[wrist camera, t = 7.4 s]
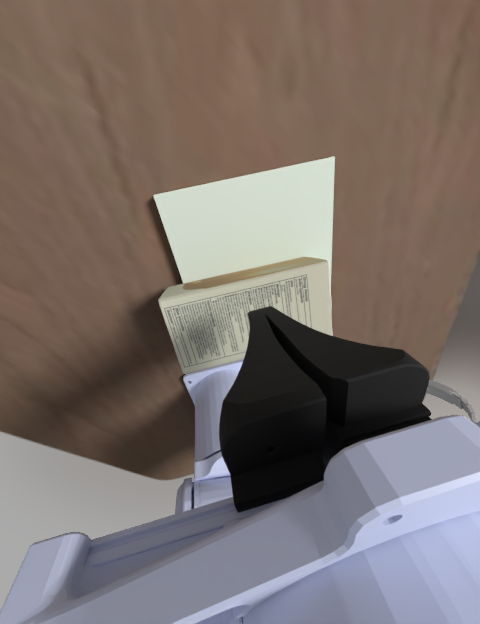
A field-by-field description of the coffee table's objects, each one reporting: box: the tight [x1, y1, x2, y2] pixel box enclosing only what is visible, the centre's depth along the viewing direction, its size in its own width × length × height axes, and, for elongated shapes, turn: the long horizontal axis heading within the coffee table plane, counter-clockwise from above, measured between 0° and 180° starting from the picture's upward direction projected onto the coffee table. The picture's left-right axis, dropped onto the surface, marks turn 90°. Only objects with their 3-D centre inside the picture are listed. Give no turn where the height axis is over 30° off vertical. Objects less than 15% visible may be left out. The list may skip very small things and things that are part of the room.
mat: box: [153, 156, 335, 292], centre depth 20 cm, size 14×13×1 cm
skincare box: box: [158, 257, 333, 374], centre depth 18 cm, size 6×4×12 cm
